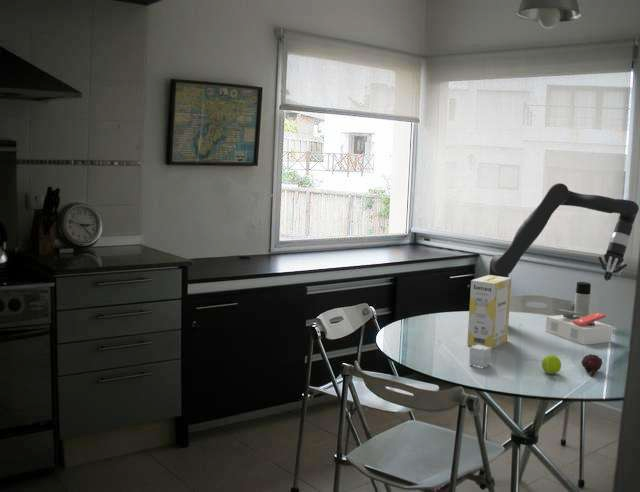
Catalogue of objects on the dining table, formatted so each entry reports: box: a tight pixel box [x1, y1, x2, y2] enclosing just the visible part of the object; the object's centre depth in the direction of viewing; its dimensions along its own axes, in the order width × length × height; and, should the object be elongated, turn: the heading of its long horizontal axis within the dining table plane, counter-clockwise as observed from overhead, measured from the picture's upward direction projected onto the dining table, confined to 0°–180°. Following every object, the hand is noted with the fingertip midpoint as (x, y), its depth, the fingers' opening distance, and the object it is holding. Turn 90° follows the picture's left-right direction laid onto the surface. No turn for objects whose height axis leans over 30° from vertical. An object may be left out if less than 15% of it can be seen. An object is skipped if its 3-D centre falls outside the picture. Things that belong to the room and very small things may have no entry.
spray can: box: [573, 281, 592, 317], centre depth 351 cm, size 7×7×20 cm
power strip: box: [545, 313, 614, 346], centre depth 326 cm, size 16×24×8 cm
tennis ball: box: [541, 354, 562, 375], centre depth 271 cm, size 7×7×7 cm
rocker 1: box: [553, 307, 585, 317], centre depth 331 cm, size 14×5×2 cm, turn 114°
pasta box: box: [466, 274, 512, 350], centre depth 309 cm, size 18×10×28 cm, turn 144°
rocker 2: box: [573, 311, 606, 326], centre depth 320 cm, size 14×5×2 cm, turn 113°
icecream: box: [581, 353, 603, 377], centre depth 275 cm, size 7×7×15 cm
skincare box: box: [468, 344, 492, 368], centre depth 278 cm, size 6×6×7 cm
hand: (606, 280), depth 324 cm, fingers closed
